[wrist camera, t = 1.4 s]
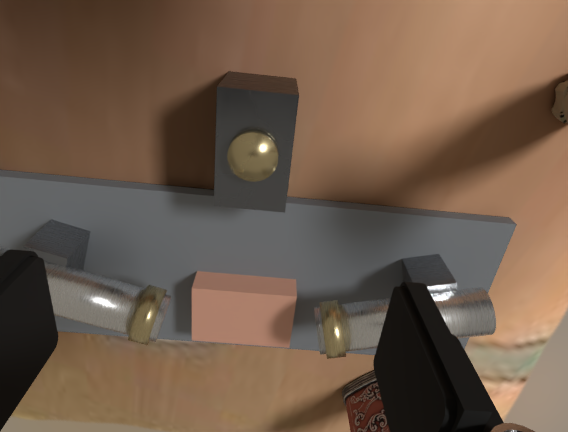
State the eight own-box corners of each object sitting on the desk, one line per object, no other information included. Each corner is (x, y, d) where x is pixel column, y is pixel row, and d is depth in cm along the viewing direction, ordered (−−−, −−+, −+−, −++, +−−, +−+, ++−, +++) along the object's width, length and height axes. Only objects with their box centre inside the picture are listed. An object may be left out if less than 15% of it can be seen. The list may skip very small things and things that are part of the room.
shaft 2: (315, 304, 32) (323, 373, 26) (309, 262, 30) (315, 327, 24) (454, 286, 32) (495, 354, 25) (456, 243, 30) (500, 304, 24)
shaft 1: (187, 252, 30) (163, 315, 24) (174, 292, 32) (148, 361, 26) (34, 205, 28) (-33, 260, 22) (29, 250, 30) (-34, 313, 24)
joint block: (225, 172, 27) (212, 210, 22) (229, 71, 24) (215, 88, 19) (284, 178, 27) (285, 217, 22) (296, 78, 24) (299, 97, 19)
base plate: (-20, 167, 27) (-53, 186, 24) (509, 217, 29) (532, 239, 26) (19, 318, 33) (-4, 346, 30) (454, 352, 35) (468, 381, 32)
